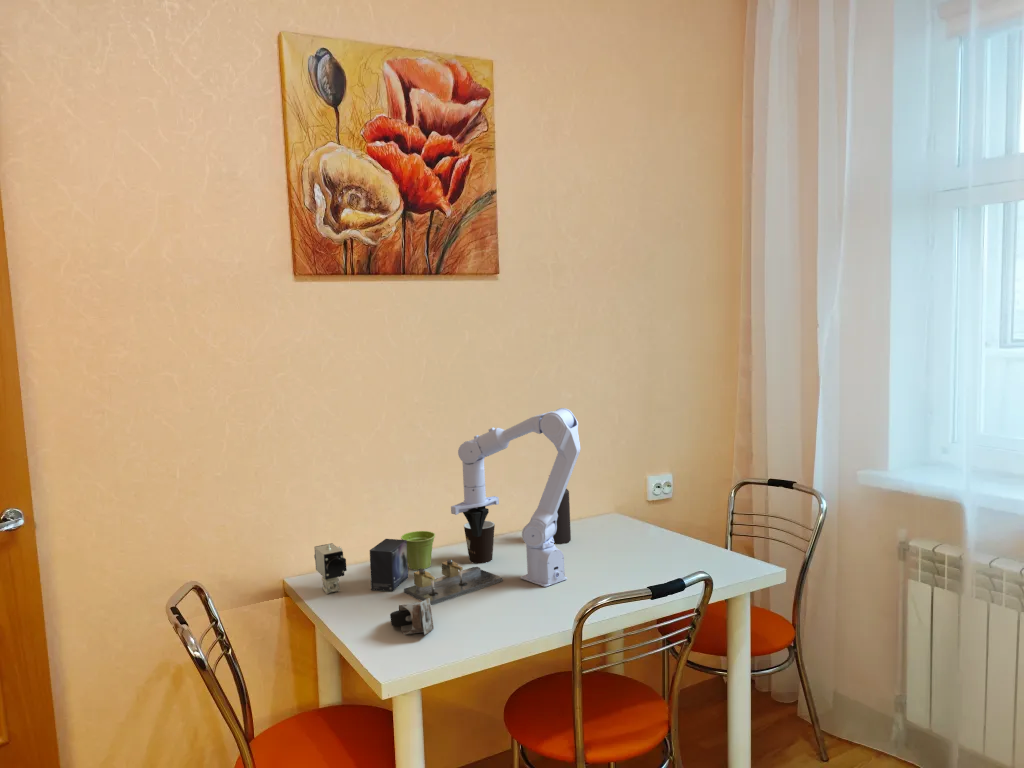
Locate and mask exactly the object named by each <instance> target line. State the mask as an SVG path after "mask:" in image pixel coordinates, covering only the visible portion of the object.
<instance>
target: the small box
mask: <svg viewBox="0 0 1024 768" xmlns="http://www.w3.org/2000/svg"><path fill="white" fill-rule="evenodd" d="M369 563H370V568H369V569H370V591H380V592H381V591H383V592H395V590H396V589H397V588H399V587H400V586H401V585H402V584H403V583H404V582H405V581H406V580H408V579H409V567H408V561H407V540H402V539H397V538H385V539H384V540H382V541H381V542H380V543H378V544H377V545H375V546H374V547H372V548H371V549H370V550H369Z"/></svg>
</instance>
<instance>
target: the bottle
mask: <svg viewBox="0 0 1024 768" xmlns="http://www.w3.org/2000/svg"><path fill="white" fill-rule="evenodd" d="M549 476H550V474H549V475H548V477H549ZM570 509H571V507H570V491H569V489H568V488H567V487H566V490H565V492H564V495H563V498H562V500H561V503H560V506H559V508H558V511H557V513H558V518H557V522H556V524H557V531H556V533H555V535H554V536H553V539H554V543H557V544H556V545H558V544H559V545H562V543H564V544H567V543H569V541H570V542H571V541H572V536H571V533H572V530H571V512H570V511H571V510H570Z"/></svg>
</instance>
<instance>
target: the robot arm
mask: <svg viewBox="0 0 1024 768" xmlns="http://www.w3.org/2000/svg"><path fill="white" fill-rule="evenodd" d="M530 433H536V434H539V435H540V434H541V435H542V434H543V435H544V436H545V437H546V438H547V439H548V440H549V441H550V442H551V443H552V444H553V445H554V447H555V449H556V451H557V455H556V457H555V460H554V462H553V466H552V469H551V471H550V473H549V475H550V476H549V475H548V478H547V482H546V484H545V486H544V490H543V492H542V495H541V498H540V500H539V503H538V505H537V508H536V509H535V511H534V512H533V514H532V516H531V518H530V520H529V522H528V523H527V524H526V525H525V526H524V527H523V528H522V531H521V537H522V540H523V542H524V543H525V547H526V567H527V568H526V569H527V574H523V575H521V576H520V577H519V578H520V579H521V580H524V581H527V582H530V583H533V584H535V585H537V586H542V587H545V588H546V587H549V586H551V585H555V584H557V583H560V582H563V581H566V580H568V577H567V576H565V574H566V573H565V556H564V553H563V551H562V550H561V549H559V548H558V547H557V546H556V545H555V544H554V539H553V536H554V535H555V533H556V531H557V524H556V522H557V518H558V513H557V511H558V508H559V506H560V503H561V500H562V498H563V495H564V492H565V490H566V488H567V487H568V484H569V481H570V479H571V476H572V474H573V471H574V469H575V466H576V463H577V461H578V458H579V455H580V452H581V443H580V436H579V421H578V420H577V418H576V416H575V415H574V413H573V412H572V411H571V409H568V408H566V407H561V408H558V409H556V410H554V411H553V410H551V411H547V412H544V413H540V414H535V415H534V416H531V417H529V418H527V419H525V420H523V421H521V422H519V423H517V424H514V425H513V426H511V427H509V428H506V429H504V428H501V427H496V428H495V427H490V428H489V429H488V431H487V432H485V433H483V434H481V435H479V434H476V435H475V436H473V439H471V440H470V439H469V440H466V441H463V442H462V444H460V445H459V447H458V450H457V455H458V457H459V460H460V461H461V462H462V463H461V464H462V479H463V480H462V485H463V501H462V502H459V503H457V504H454V505H451V506H450V514H452V515H455V516H457V515H459V514H460V513H461V514H463V516H464V517H465V518H466V520H467V523H469V525H470V528H471V531H472V535H473V536H475V537H479V536H481V533H482V528H483V524H484V521H486V518H487V517H488V514H489V512H490V511H489V508H487V507H490V506H493V505H499V504H500V497H499V496H496V495H492V496H488V497H487V494H486V493H487V492H486V472H485V470H486V469H485V458H486V457H489V456H492V455H494V454H496V453H499V452H501V451H503V450H506V449H507V448H508V447H509V444H510V442H511V441H514V440H515V439H518V438H520V437H523V436H525V435H528V434H530Z"/></svg>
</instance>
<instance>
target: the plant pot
mask: <svg viewBox="0 0 1024 768" xmlns="http://www.w3.org/2000/svg"><path fill="white" fill-rule="evenodd" d="M435 538H436V533H435V532H433V531H428V530H415V531H410V532H409V531H408V532H406V533H404V534H402V535H401V536H400V540H407V561H408V569H410V570H414V569H415V571H417V570H418V571H419V569H425V570H426V569H428V568H430V567H431V564H432V556H433V555H432V553H433V545H434V544H433V543H434V540H435Z"/></svg>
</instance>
